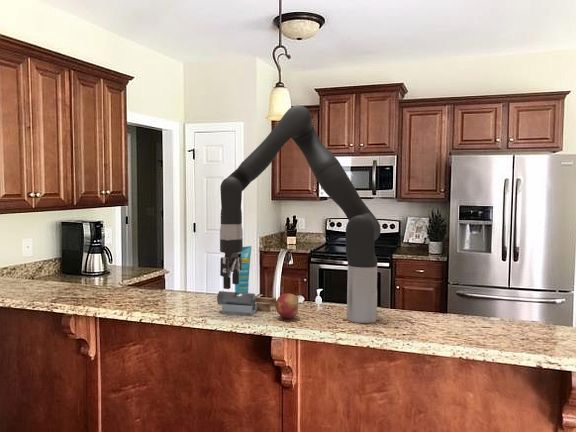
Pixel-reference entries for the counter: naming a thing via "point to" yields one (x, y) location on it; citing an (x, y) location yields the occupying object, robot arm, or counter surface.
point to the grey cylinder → (236, 298)
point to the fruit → (287, 305)
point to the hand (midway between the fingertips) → (231, 286)
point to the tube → (244, 271)
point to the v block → (239, 309)
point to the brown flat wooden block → (265, 303)
